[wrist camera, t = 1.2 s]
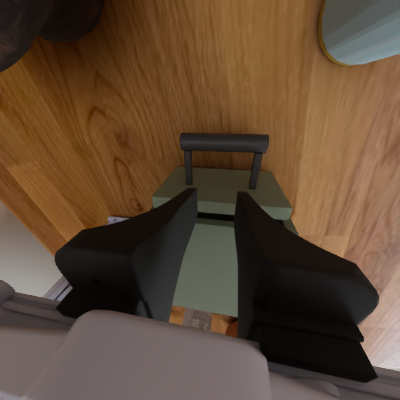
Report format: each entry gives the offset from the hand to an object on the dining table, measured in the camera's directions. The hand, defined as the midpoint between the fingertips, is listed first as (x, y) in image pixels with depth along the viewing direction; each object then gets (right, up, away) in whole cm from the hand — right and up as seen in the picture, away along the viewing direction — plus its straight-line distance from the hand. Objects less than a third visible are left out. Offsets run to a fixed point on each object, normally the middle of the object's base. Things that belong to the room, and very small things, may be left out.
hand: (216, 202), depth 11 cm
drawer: (+2, 0, +11) cm, 11 cm away
